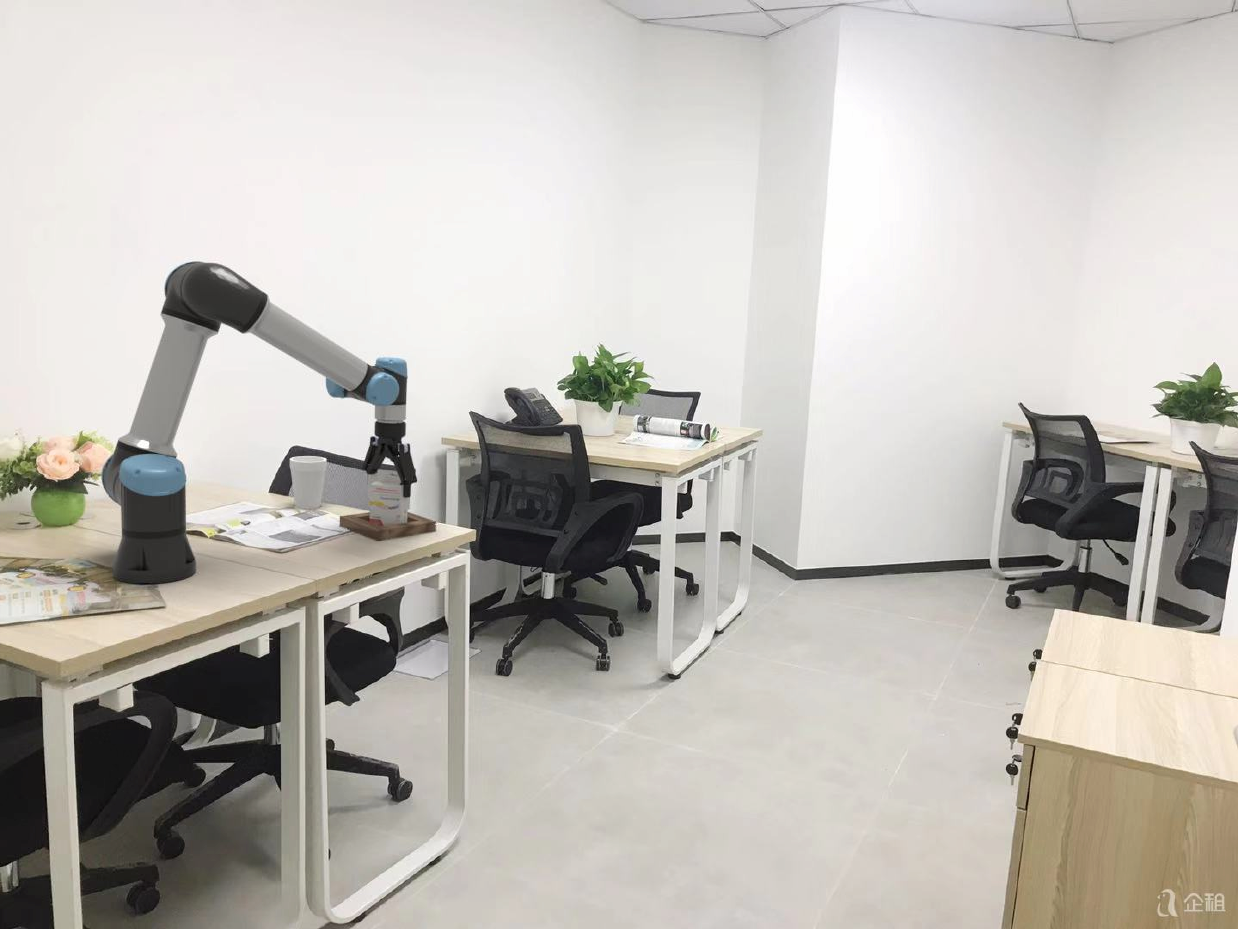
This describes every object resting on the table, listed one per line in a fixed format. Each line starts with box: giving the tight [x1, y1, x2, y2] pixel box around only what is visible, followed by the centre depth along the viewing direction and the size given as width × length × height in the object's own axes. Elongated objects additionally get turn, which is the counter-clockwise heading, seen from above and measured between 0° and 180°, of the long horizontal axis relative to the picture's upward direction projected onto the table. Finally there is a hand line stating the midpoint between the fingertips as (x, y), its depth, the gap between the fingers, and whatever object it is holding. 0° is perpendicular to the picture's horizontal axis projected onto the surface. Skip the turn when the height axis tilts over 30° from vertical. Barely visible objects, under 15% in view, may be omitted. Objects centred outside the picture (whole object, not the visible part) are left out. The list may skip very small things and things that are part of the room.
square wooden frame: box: [339, 511, 437, 542], centre depth 236 cm, size 17×17×2 cm
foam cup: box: [289, 455, 328, 510], centre depth 252 cm, size 10×9×13 cm
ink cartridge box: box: [369, 468, 409, 526], centre depth 235 cm, size 9×5×15 cm, turn 85°
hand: (388, 504), depth 235 cm, fingers open, 13 cm apart
